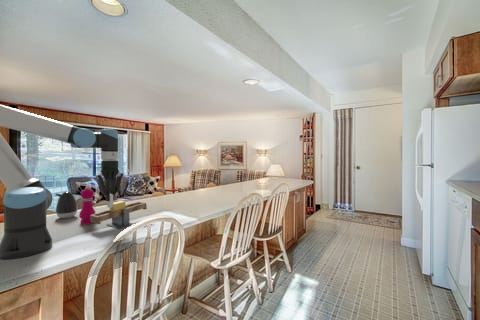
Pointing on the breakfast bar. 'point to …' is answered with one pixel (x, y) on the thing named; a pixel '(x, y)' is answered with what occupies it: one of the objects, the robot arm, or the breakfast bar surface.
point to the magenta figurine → (86, 206)
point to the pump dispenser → (66, 205)
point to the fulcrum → (121, 220)
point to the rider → (118, 206)
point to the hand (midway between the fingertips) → (110, 207)
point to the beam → (115, 212)
